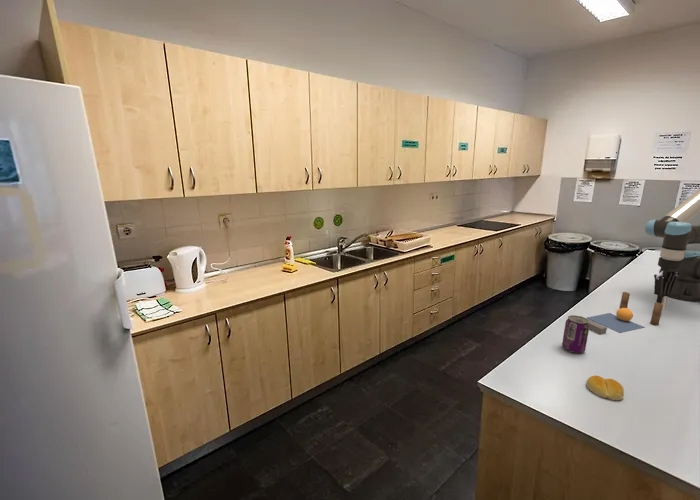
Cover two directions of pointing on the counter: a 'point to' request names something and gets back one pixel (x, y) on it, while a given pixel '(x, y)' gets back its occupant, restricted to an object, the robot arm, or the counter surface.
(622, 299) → the post
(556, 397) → the counter surface
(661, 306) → the post
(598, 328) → the stopper
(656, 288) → the robot arm
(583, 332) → the beverage can
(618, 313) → the ball
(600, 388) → the bread roll
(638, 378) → the counter surface
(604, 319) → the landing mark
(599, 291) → the counter surface
